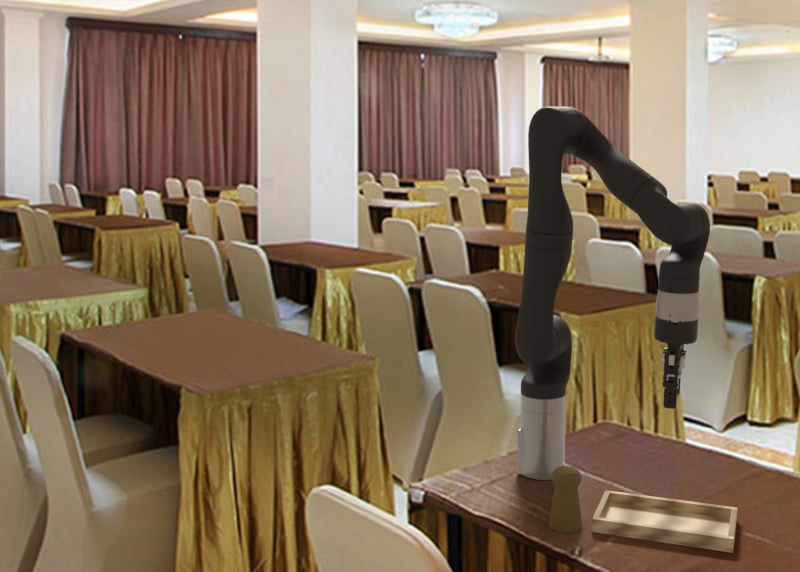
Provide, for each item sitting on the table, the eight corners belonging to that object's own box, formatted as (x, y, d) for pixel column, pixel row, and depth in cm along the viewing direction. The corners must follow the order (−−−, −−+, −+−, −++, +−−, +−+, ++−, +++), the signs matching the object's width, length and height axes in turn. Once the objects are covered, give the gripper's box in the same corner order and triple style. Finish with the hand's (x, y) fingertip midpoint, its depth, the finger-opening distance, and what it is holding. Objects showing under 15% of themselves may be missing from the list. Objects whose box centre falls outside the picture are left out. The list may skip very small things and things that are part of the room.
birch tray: (591, 531, 172) (592, 518, 171) (605, 502, 184) (605, 490, 184) (733, 552, 163) (733, 539, 162) (736, 520, 176) (737, 507, 175)
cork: (545, 519, 177) (546, 463, 175) (577, 518, 178) (578, 461, 176) (553, 533, 171) (554, 475, 169) (586, 532, 172) (587, 473, 170)
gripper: (659, 305, 180) (654, 388, 183) (651, 321, 167) (646, 410, 170) (700, 308, 178) (695, 392, 181) (696, 325, 165) (690, 415, 168)
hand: (671, 400), depth 175 cm, fingers open, 8 cm apart
